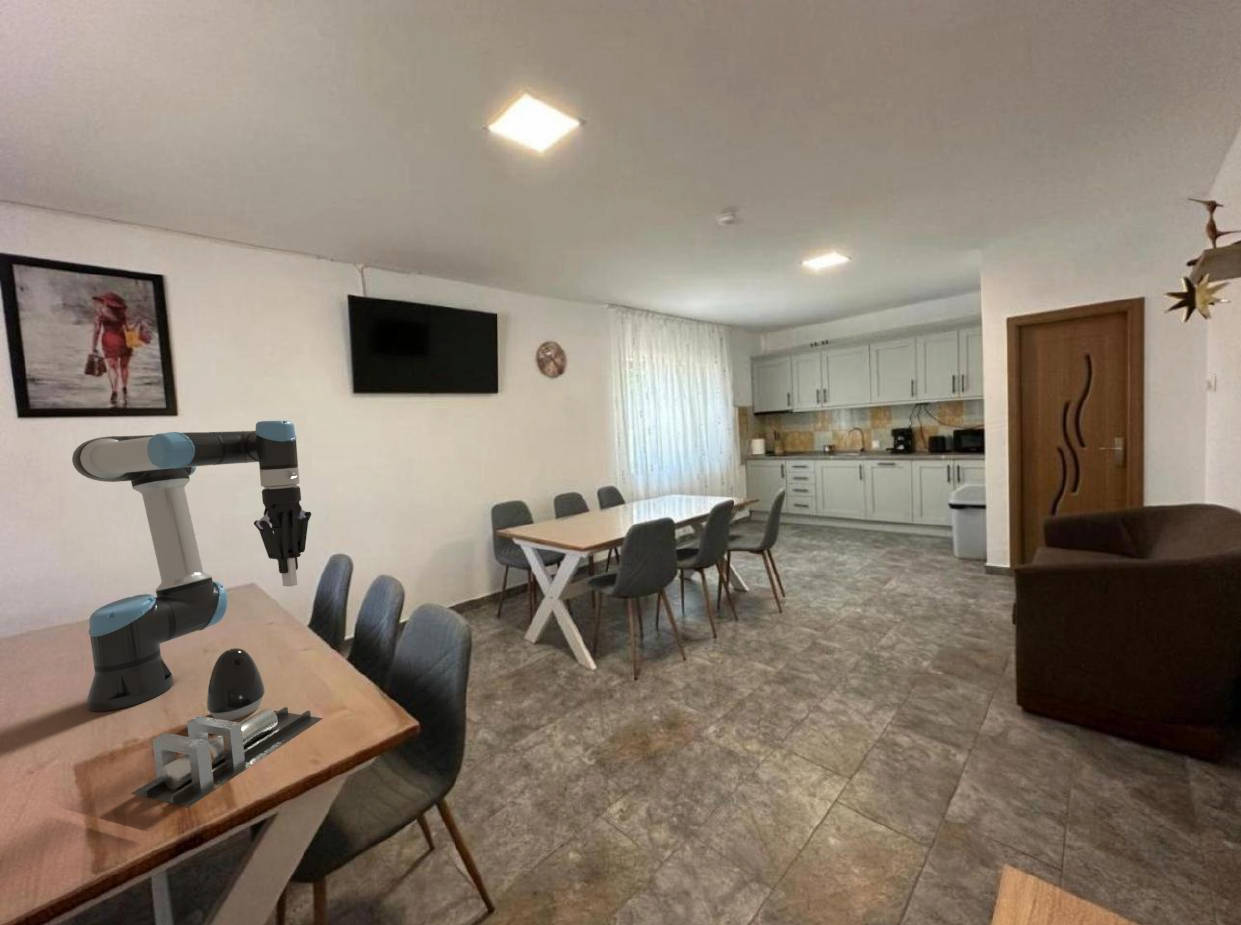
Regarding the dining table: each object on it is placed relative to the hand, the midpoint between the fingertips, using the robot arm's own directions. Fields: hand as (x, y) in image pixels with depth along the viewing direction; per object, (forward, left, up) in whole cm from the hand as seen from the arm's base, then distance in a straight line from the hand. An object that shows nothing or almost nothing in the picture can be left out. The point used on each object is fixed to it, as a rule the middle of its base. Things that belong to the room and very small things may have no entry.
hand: (290, 585), depth 119 cm
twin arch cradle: (+10, -22, -26) cm, 36 cm away
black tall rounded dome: (-5, -11, -27) cm, 29 cm away
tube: (+10, -24, -25) cm, 36 cm away
